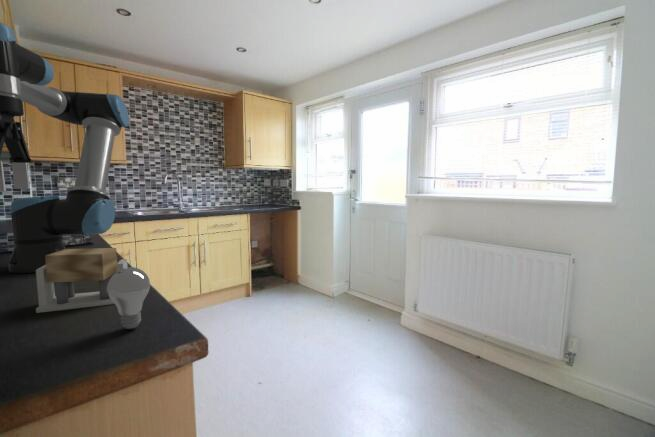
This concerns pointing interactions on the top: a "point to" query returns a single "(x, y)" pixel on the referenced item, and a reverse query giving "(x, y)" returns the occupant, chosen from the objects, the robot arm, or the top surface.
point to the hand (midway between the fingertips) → (10, 190)
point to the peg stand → (70, 293)
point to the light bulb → (129, 294)
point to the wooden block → (81, 264)
